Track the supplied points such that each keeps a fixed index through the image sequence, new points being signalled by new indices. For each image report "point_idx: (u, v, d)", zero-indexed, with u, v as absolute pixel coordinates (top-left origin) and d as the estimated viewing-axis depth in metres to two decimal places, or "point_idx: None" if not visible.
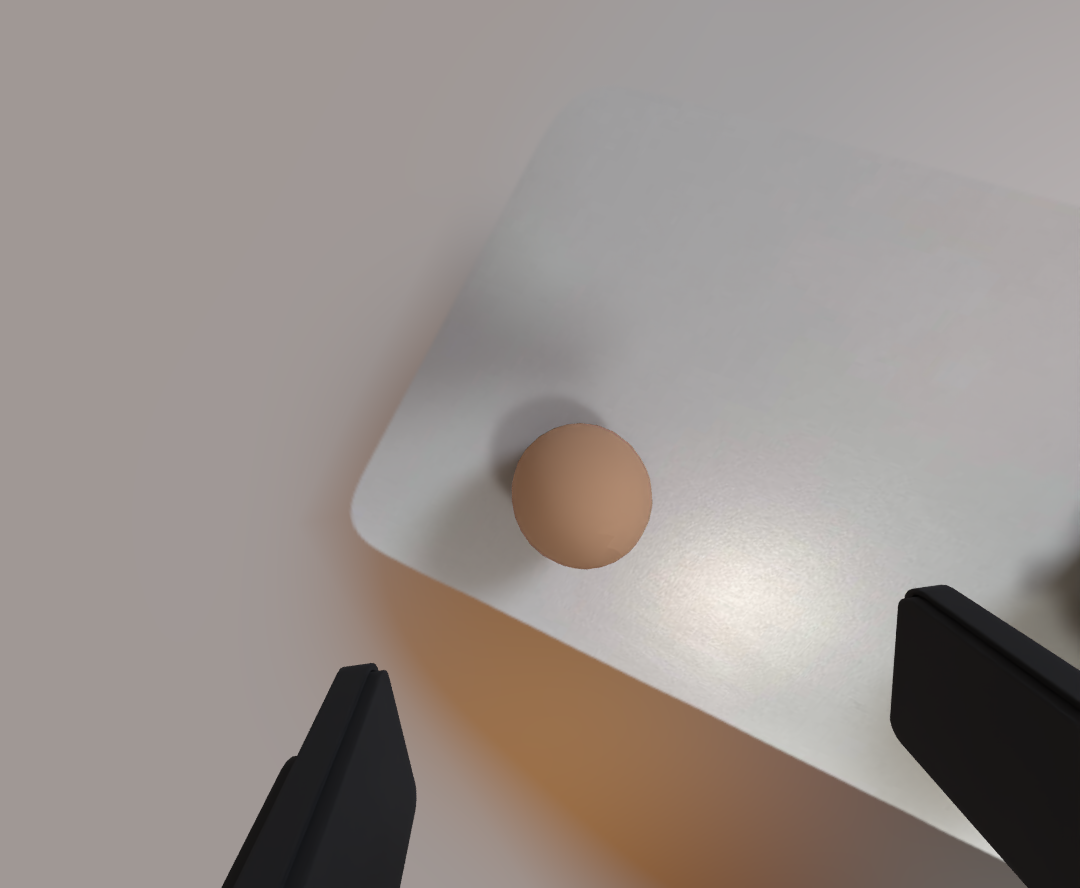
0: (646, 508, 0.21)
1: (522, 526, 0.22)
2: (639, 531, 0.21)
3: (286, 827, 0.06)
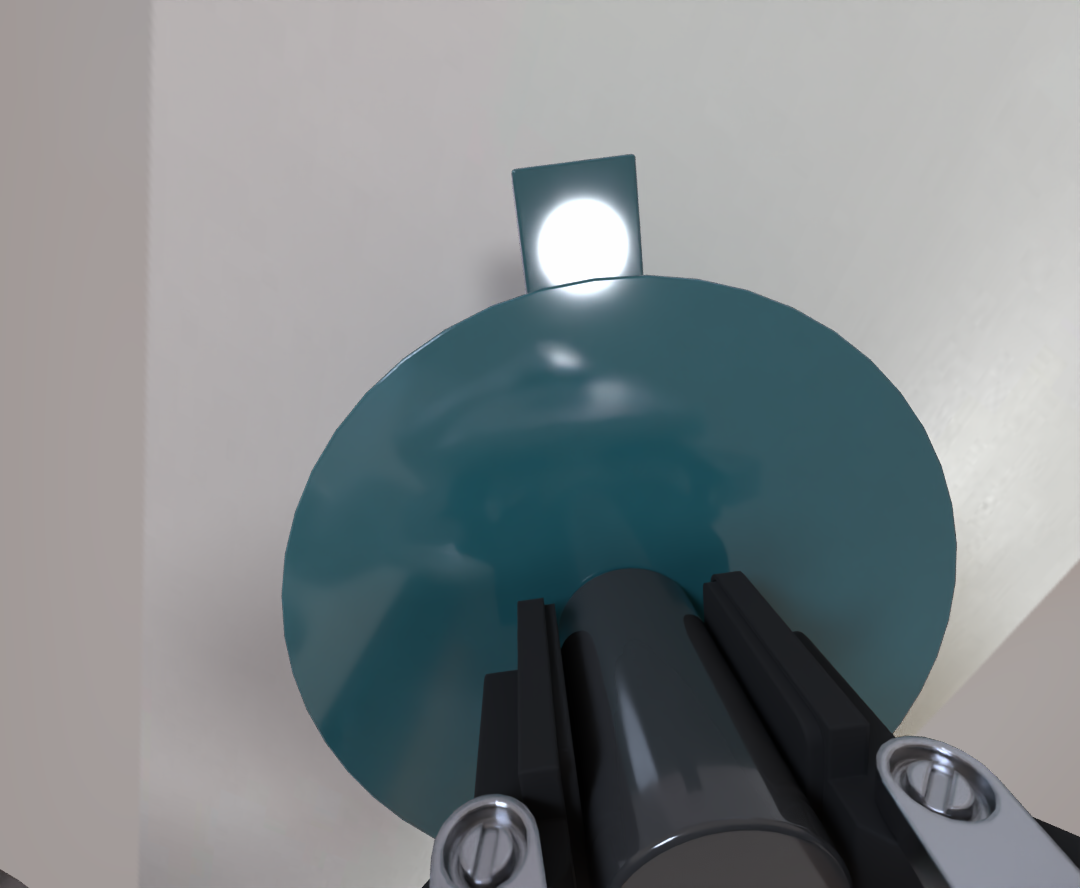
0: None
1: None
2: None
3: (537, 708, 0.07)
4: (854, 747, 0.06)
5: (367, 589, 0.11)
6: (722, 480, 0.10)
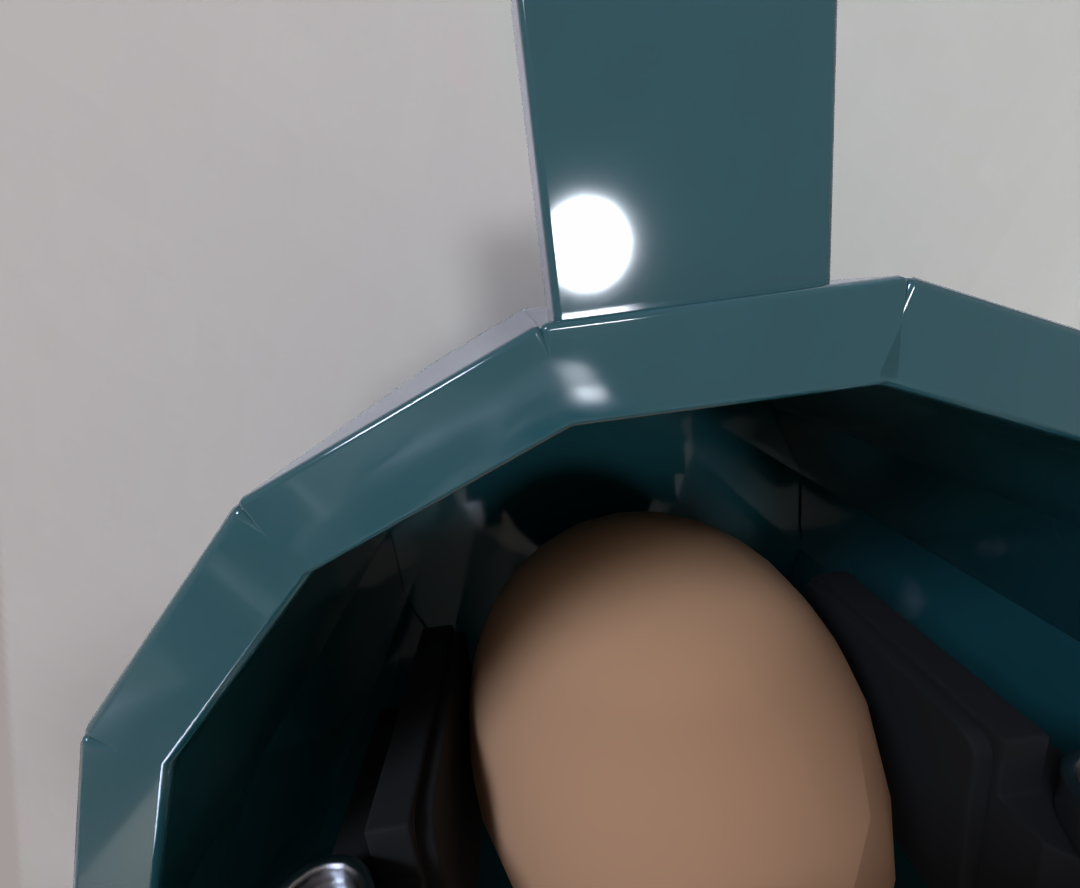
0: (696, 698, 0.06)
1: None
2: (782, 757, 0.06)
3: (407, 753, 0.07)
4: (1029, 761, 0.06)
5: None
6: None
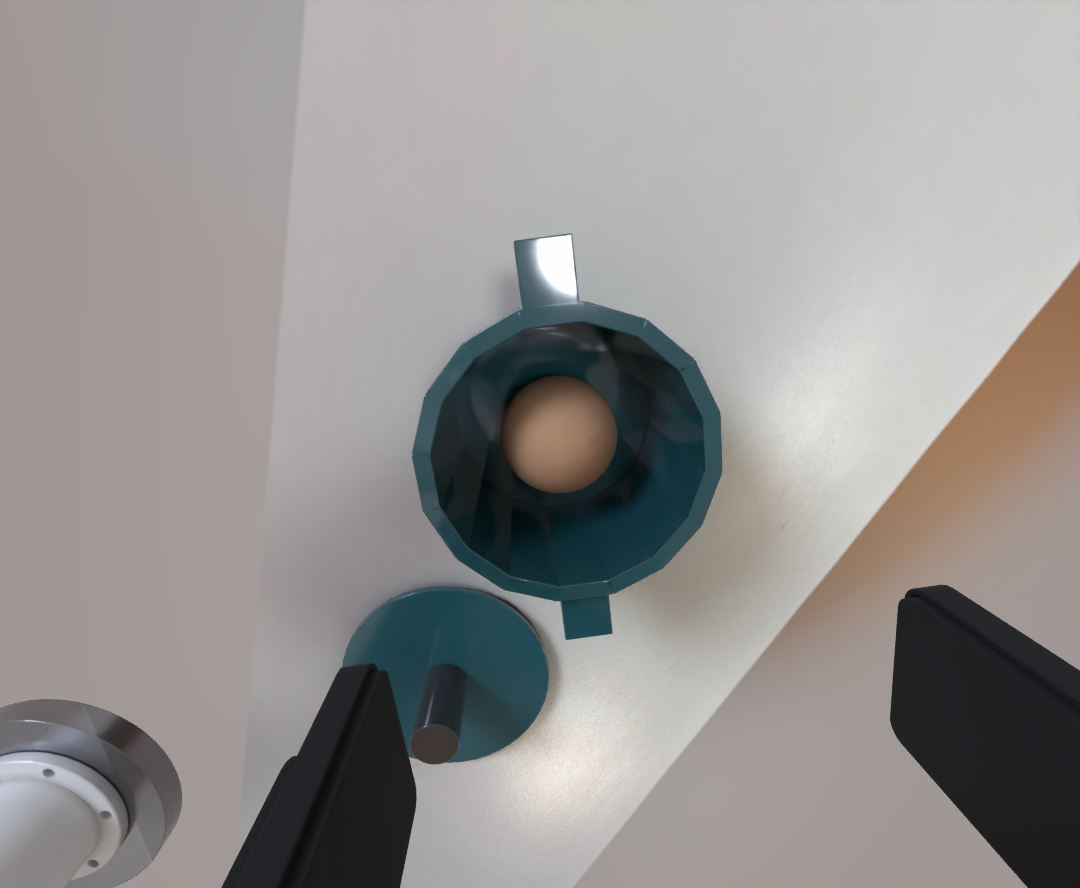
0: (568, 399, 0.25)
1: None
2: (583, 411, 0.25)
3: (286, 827, 0.06)
4: None
5: None
6: (470, 639, 0.35)
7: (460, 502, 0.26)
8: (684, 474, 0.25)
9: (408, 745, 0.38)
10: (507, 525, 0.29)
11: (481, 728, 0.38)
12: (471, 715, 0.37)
